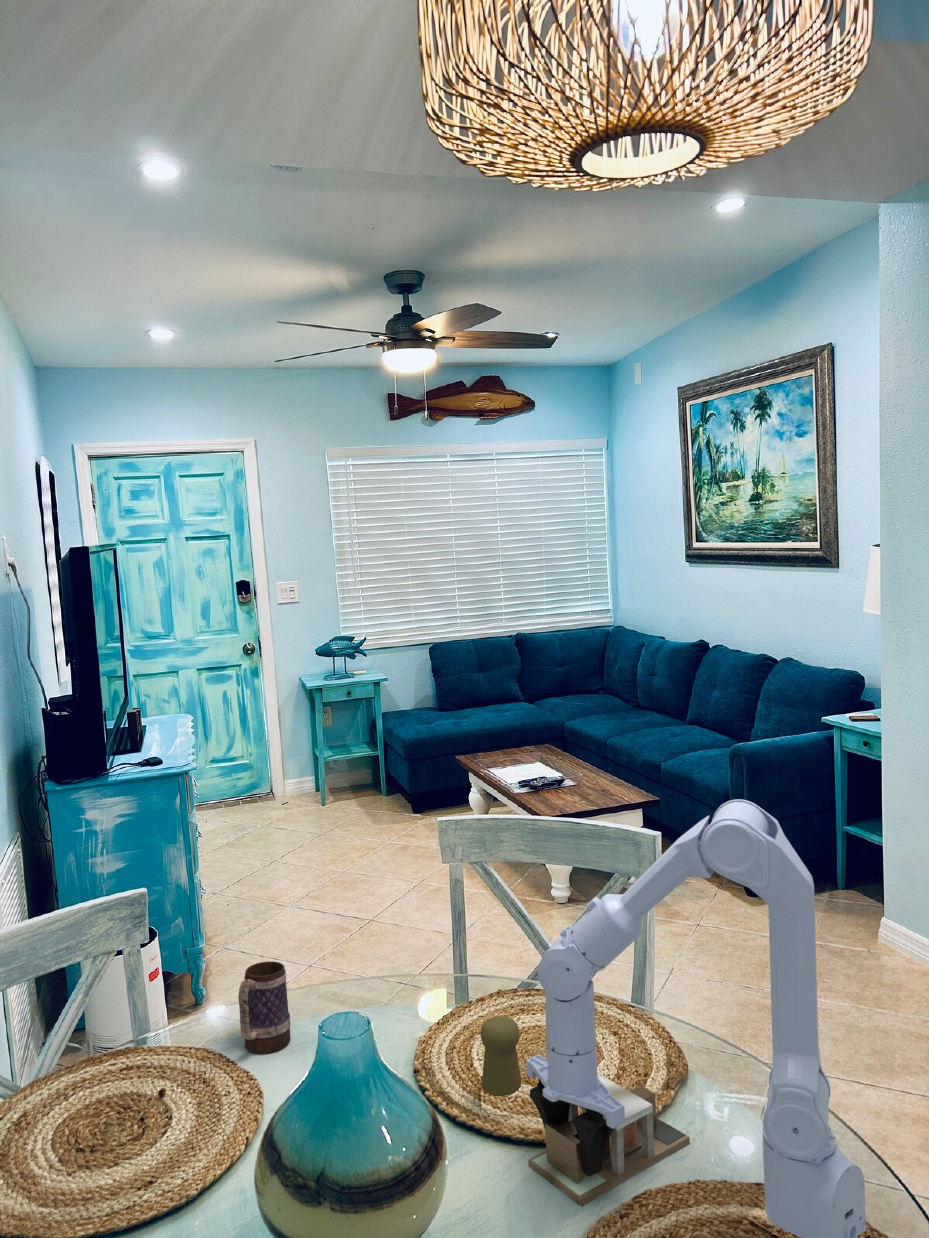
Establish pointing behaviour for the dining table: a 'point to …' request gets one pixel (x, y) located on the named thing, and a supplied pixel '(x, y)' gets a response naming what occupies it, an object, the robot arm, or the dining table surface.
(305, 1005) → the dining table surface
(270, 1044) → the mug
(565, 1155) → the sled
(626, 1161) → the tunnel board
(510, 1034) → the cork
